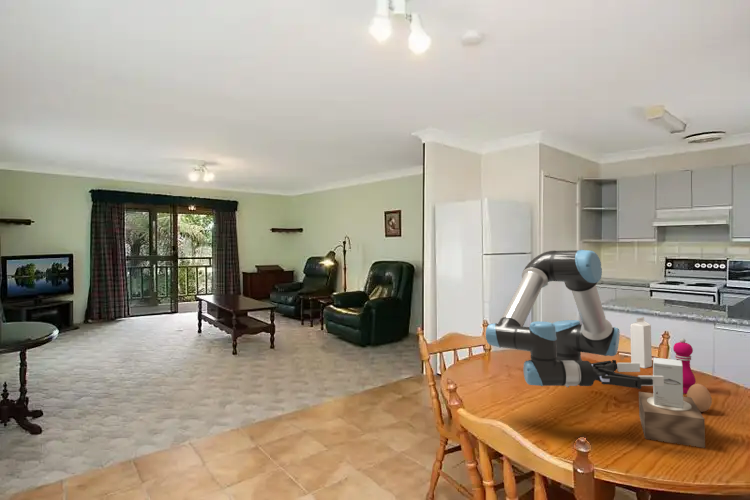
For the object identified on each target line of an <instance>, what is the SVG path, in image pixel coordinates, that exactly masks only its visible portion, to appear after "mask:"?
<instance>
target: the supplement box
mask: <svg viewBox="0 0 750 500" xmlns="http://www.w3.org/2000/svg"><path fill="white" fill-rule="evenodd" d="M652 376H664V386H652V389H653V392H652V393H653V394H654V404H659V405H666V406H672V407H678V408H683V397H684V393H683V366H682V361H681V360H676V359H672V358H671V359H670V358H663V357H662V358H661V357H652Z"/></svg>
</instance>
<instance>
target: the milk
mask: <svg viewBox="0 0 750 500" xmlns="http://www.w3.org/2000/svg"><path fill="white" fill-rule="evenodd" d="M629 328H630V329H629V331H630V363H640V369H641V368H642V369H647V368H650V367H653V357H652V324H650V323H649V322H647V320H645V317H644V316H643V317H638V318H636V321H635V322H633V323H630V327H629Z"/></svg>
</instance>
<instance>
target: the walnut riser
mask: <svg viewBox="0 0 750 500" xmlns="http://www.w3.org/2000/svg"><path fill="white" fill-rule="evenodd" d="M638 409H639V410H638V412H639V414H638V415H639V420H640V424H641V427H642V432H643V436H644V438H645V439H644V440H650V439H651V441H656V440H658V442H663V441H664V442H663V443H668V444H669V443H670V444H676V443H677V445H682V444H683V446H689V445H691V447H695V446H696V448H704V449H706V432H705V431H706V428H705V426H706V425H705V424H706V423H705V418H704V415H702V412H700V411H699V409H698V408H697V406H696V404H695V403H694V401H693V400H692V398H691V397H687V396H683V408H678V407H672V406H666V405H659V404H654V394H653V392H644V391H638Z"/></svg>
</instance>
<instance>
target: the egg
mask: <svg viewBox="0 0 750 500" xmlns="http://www.w3.org/2000/svg"><path fill="white" fill-rule="evenodd" d="M686 397H691V398H692V400H693V401H694V403H695V404H696V406H697V408H698V409H699V411H700V413H703V412H706V411H708V410H709V409H710V408H711V406H712V403H713V401H712V395H711V393H710V391H709V390H708V388H707V387H706V386H705V385H703V384H701V383H695V384H694V385H692V386H691V387H690V388H689V390H688V392H687V394H686Z"/></svg>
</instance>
